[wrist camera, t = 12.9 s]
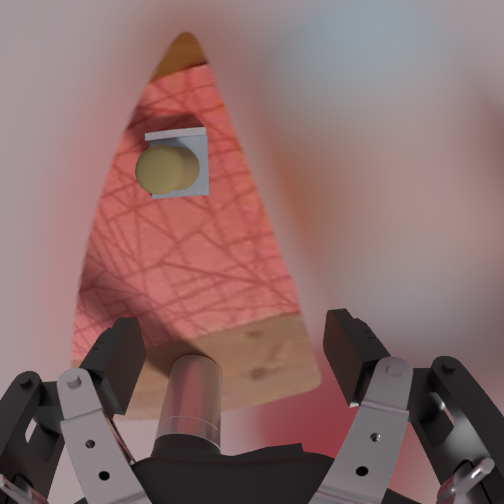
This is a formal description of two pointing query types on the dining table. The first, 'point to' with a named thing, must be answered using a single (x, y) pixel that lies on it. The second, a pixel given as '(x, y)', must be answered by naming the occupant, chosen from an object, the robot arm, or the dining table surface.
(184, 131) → the rail
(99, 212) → the dining table surface
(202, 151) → the slate shelf board
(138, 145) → the dining table surface
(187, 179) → the cork
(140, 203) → the dining table surface
